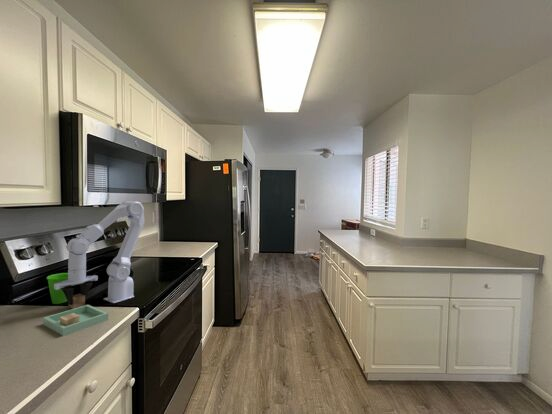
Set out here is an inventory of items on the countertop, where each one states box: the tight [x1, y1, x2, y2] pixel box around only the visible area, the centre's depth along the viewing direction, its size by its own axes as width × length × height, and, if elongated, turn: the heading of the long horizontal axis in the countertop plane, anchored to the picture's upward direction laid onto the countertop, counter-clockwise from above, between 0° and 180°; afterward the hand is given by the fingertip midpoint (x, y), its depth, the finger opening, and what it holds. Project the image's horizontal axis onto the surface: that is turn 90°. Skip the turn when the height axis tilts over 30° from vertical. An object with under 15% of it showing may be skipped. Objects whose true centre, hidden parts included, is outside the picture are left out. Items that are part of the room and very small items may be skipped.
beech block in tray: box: [60, 313, 79, 326], centre depth 90 cm, size 4×4×4 cm
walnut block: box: [67, 293, 86, 309], centre depth 107 cm, size 4×4×4 cm
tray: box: [42, 304, 109, 337], centre depth 95 cm, size 14×14×3 cm
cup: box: [46, 272, 68, 305], centre depth 113 cm, size 9×9×11 cm
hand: (76, 302), depth 107 cm, fingers closed on walnut block, 4 cm apart
